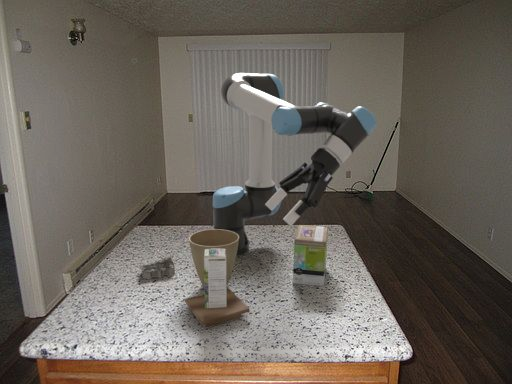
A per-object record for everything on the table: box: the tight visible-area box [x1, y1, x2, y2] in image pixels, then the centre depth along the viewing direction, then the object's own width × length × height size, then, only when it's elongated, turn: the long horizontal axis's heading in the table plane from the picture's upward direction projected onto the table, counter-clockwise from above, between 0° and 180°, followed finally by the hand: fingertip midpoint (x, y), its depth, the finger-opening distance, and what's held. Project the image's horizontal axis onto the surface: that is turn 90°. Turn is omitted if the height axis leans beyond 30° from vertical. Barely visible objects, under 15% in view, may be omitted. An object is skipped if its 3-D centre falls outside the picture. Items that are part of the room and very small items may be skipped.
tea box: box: [292, 224, 329, 287], centre depth 127 cm, size 15×10×15 cm
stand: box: [184, 287, 250, 329], centre depth 105 cm, size 13×13×3 cm
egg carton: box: [140, 256, 176, 280], centre depth 130 cm, size 11×8×4 cm
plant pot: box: [188, 228, 239, 290], centre depth 120 cm, size 15×15×16 cm
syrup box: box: [204, 248, 228, 309], centre depth 104 cm, size 6×6×14 cm
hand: (276, 214), depth 105 cm, fingers open, 13 cm apart
